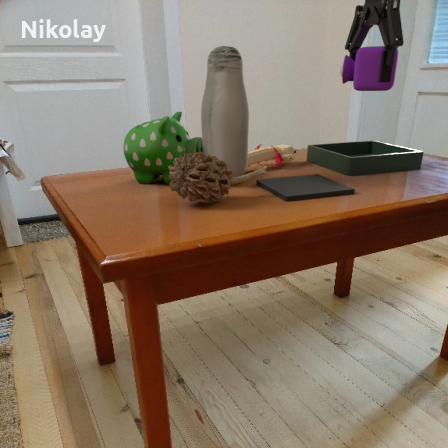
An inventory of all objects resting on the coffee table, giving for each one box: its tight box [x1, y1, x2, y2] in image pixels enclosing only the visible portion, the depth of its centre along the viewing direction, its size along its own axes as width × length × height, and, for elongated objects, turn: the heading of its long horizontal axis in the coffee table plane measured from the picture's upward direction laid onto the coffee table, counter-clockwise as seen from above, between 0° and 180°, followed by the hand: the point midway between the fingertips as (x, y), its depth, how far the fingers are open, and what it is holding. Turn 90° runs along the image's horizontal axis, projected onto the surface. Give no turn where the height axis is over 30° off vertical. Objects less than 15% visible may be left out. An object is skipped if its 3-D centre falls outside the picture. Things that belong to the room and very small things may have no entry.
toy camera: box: [339, 45, 399, 92], centre depth 108 cm, size 11×14×10 cm
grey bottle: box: [200, 45, 250, 178], centre depth 97 cm, size 10×10×28 cm
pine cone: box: [168, 152, 270, 204], centre depth 88 cm, size 22×10×10 cm, turn 120°
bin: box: [306, 139, 425, 177], centre depth 119 cm, size 22×22×4 cm
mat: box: [255, 173, 356, 202], centre depth 97 cm, size 16×16×1 cm
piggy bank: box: [123, 111, 203, 185], centre depth 103 cm, size 14×18×15 cm
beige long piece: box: [246, 143, 297, 169], centre depth 115 cm, size 10×9×25 cm
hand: (367, 81), depth 109 cm, fingers closed on toy camera, 13 cm apart
